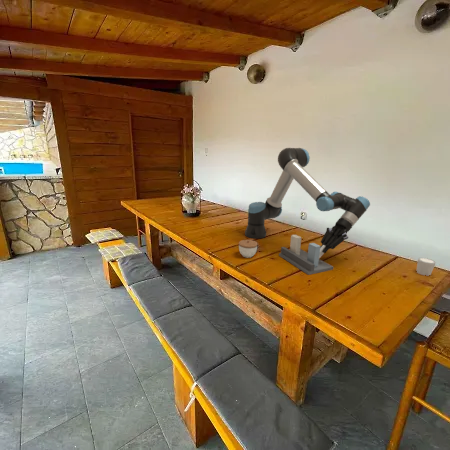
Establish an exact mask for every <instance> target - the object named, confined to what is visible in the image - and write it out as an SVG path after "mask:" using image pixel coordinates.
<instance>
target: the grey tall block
mask: <svg viewBox="0 0 450 450" xmlns="http://www.w3.org/2000/svg"><path fill="white" fill-rule="evenodd" d="M320 247H321V245H319V244H317V243H315V242H311V243H310V242H309V243H308V249H307V253H308V256H307V260H308V261H309V262H311V263H313V264H315V266H314V267H317V266H318V262H319V259H320V258H319V255H320Z"/></svg>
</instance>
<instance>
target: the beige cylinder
mask: <svg viewBox="0 0 450 450" xmlns="http://www.w3.org/2000/svg"><path fill="white" fill-rule="evenodd" d="M436 263H437V262H436V261H435V260H433V259H430V258H428V257H427V258H426V257H418V258H417V265H416V271H417V272H416V273H417V274H419V275H422V276H425V275H426V277H427V276H428V277H429V275H430V276H431V275H432V272H433V270H434V268H435V267H436Z"/></svg>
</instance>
